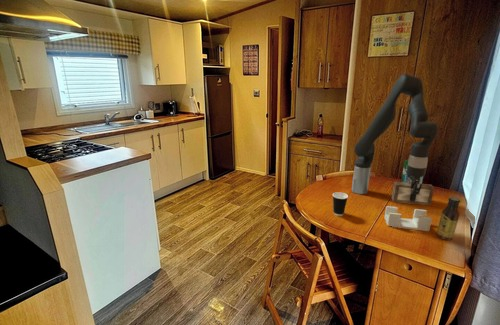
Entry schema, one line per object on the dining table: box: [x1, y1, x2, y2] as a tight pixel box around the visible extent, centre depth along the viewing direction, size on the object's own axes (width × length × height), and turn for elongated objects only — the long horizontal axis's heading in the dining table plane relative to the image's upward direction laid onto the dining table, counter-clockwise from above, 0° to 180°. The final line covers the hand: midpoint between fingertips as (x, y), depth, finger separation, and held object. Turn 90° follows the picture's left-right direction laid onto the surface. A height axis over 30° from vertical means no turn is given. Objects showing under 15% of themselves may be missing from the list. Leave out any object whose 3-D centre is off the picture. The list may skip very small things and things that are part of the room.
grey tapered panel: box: [391, 181, 435, 206], centre depth 130 cm, size 16×4×9 cm, turn 75°
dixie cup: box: [332, 191, 349, 217], centre depth 144 cm, size 8×8×11 cm
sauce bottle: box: [436, 196, 461, 241], centre depth 121 cm, size 6×6×20 cm
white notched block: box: [384, 205, 433, 232], centre depth 134 cm, size 18×9×7 cm, turn 74°
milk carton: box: [400, 159, 424, 184], centre depth 158 cm, size 9×9×25 cm
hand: (410, 198), depth 130 cm, fingers closed on grey tapered panel, 4 cm apart
